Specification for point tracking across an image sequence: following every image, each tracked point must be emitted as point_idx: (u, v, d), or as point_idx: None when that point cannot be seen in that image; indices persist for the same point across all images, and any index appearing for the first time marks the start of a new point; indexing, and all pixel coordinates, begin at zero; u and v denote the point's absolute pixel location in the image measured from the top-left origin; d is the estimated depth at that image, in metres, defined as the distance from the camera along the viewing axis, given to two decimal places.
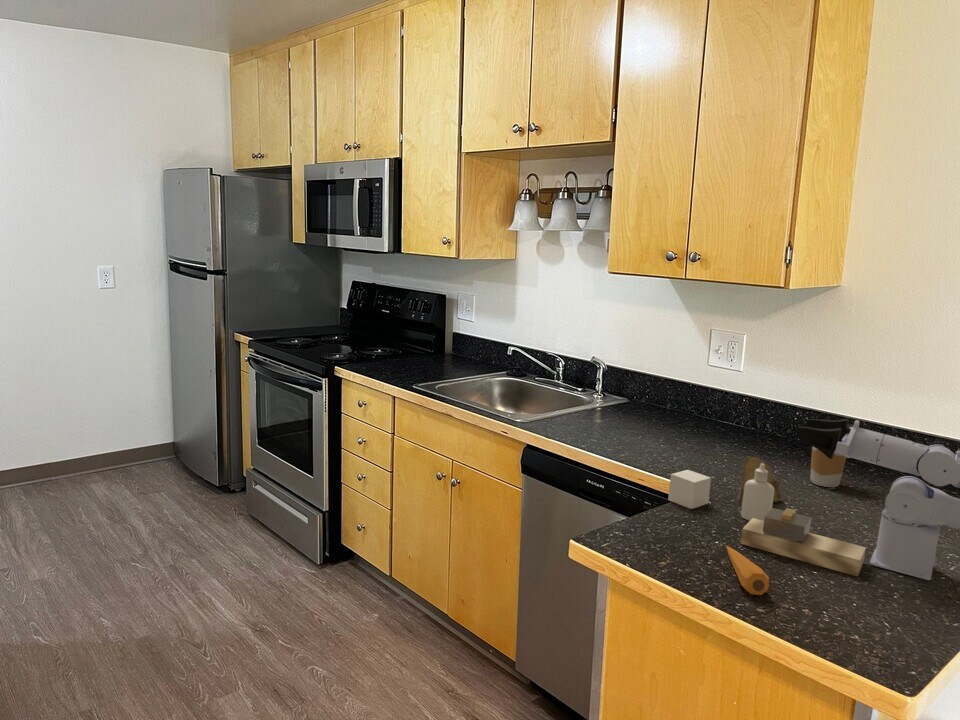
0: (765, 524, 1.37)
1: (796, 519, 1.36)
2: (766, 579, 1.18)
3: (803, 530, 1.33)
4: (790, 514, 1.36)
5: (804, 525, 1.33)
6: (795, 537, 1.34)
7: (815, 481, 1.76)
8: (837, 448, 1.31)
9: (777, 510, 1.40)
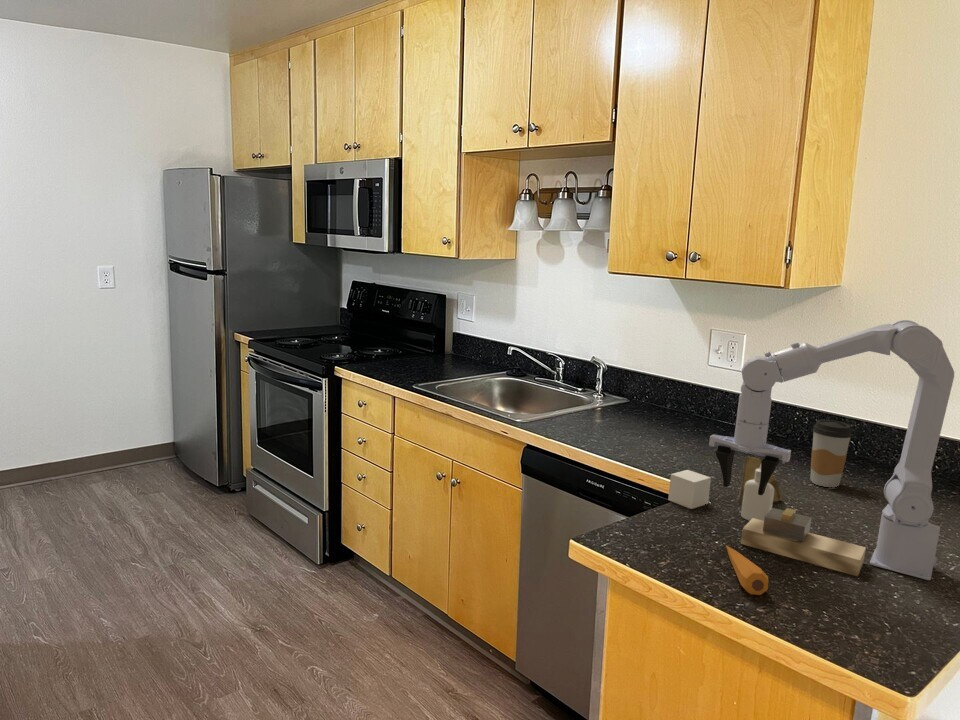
0: (765, 524, 1.37)
1: (796, 519, 1.36)
2: (765, 579, 1.18)
3: (803, 530, 1.33)
4: (790, 514, 1.36)
5: (804, 525, 1.33)
6: (795, 537, 1.34)
7: (815, 481, 1.76)
8: (788, 459, 1.36)
9: (777, 510, 1.40)
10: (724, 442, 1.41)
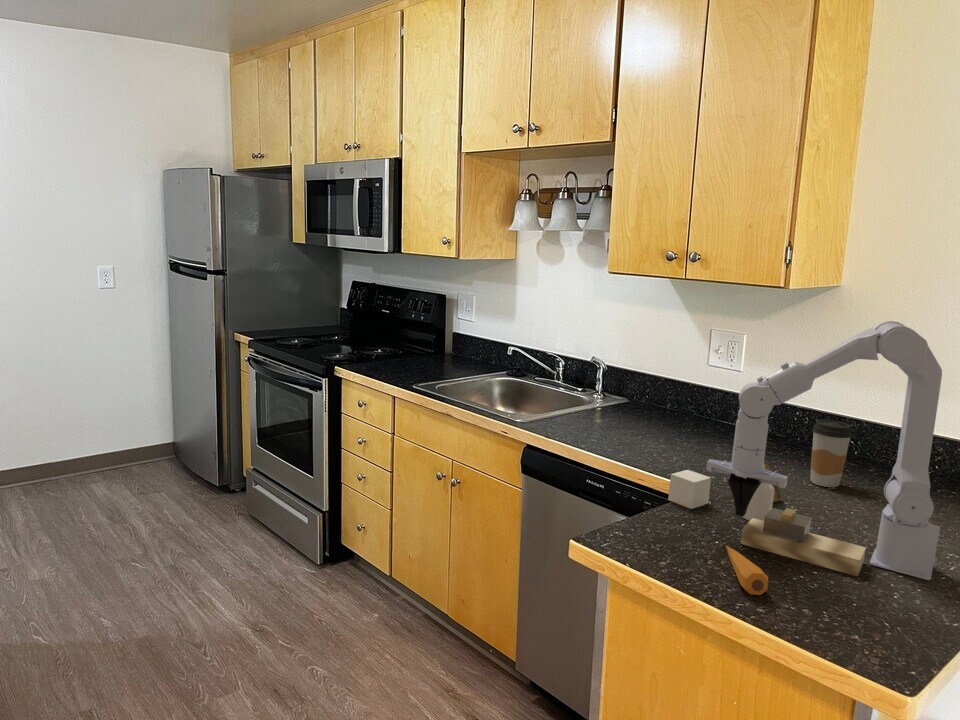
0: (765, 524, 1.37)
1: (796, 519, 1.36)
2: (765, 579, 1.18)
3: (803, 530, 1.33)
4: (790, 514, 1.36)
5: (804, 525, 1.33)
6: (795, 537, 1.34)
7: (815, 481, 1.76)
8: (785, 485, 1.37)
9: (777, 510, 1.40)
10: (721, 467, 1.41)
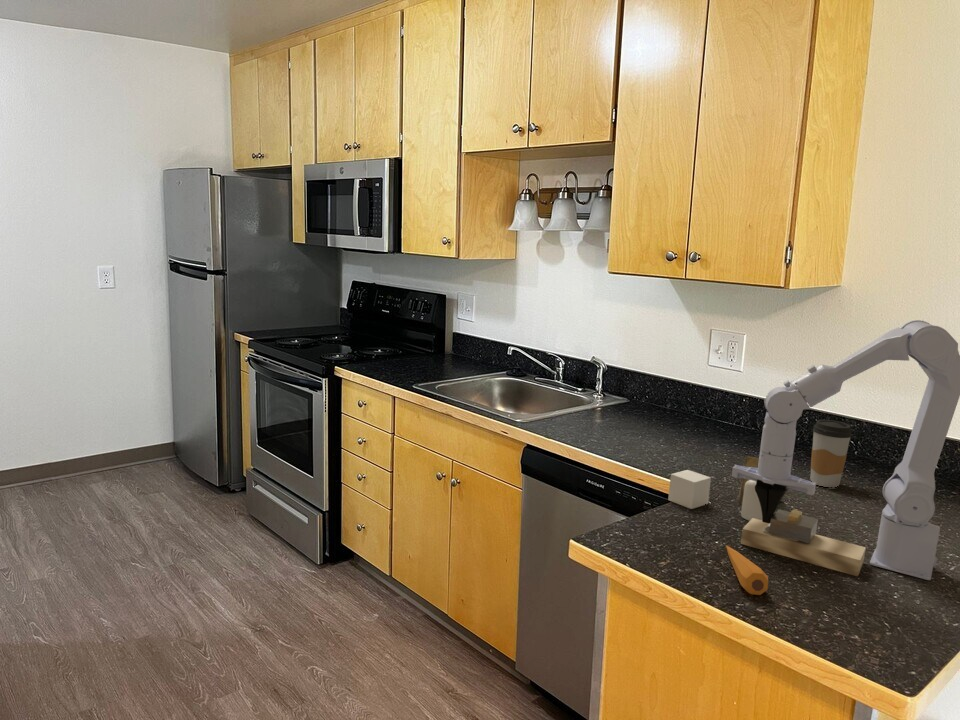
0: (771, 526, 1.36)
1: (802, 520, 1.36)
2: (765, 579, 1.18)
3: (810, 532, 1.32)
4: (796, 516, 1.35)
5: (811, 527, 1.33)
6: (802, 539, 1.33)
7: (815, 481, 1.76)
8: (813, 492, 1.34)
9: (783, 512, 1.40)
10: (747, 473, 1.39)
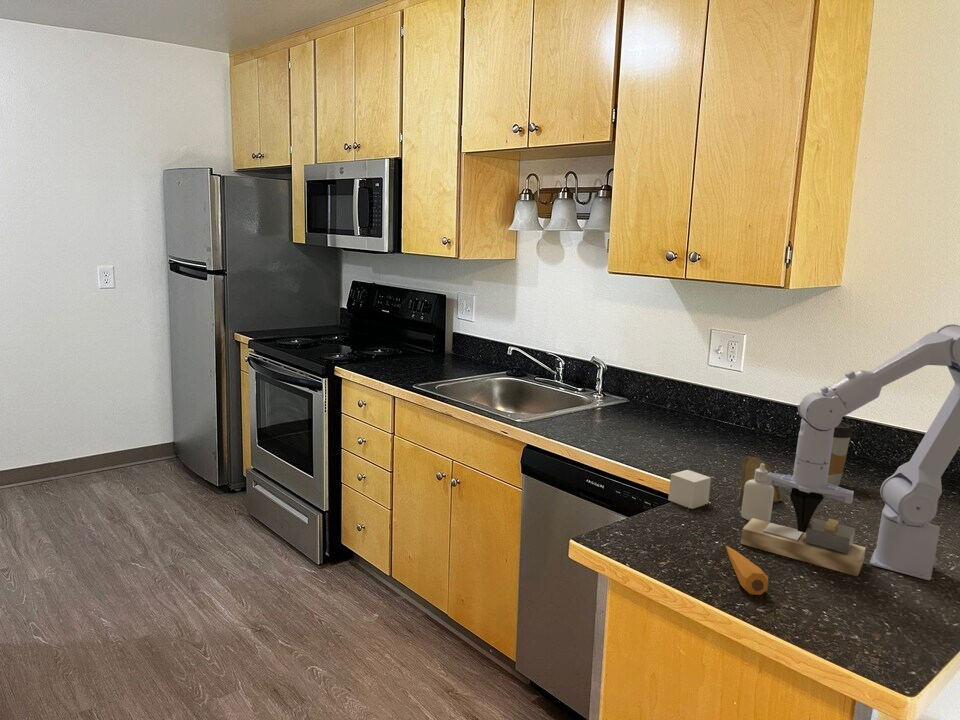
0: (808, 535, 1.33)
1: (839, 530, 1.32)
2: (765, 579, 1.19)
3: (848, 542, 1.29)
4: (834, 525, 1.32)
5: (849, 536, 1.29)
6: (839, 549, 1.30)
7: None
8: (851, 501, 1.31)
9: (819, 520, 1.36)
10: (782, 481, 1.35)
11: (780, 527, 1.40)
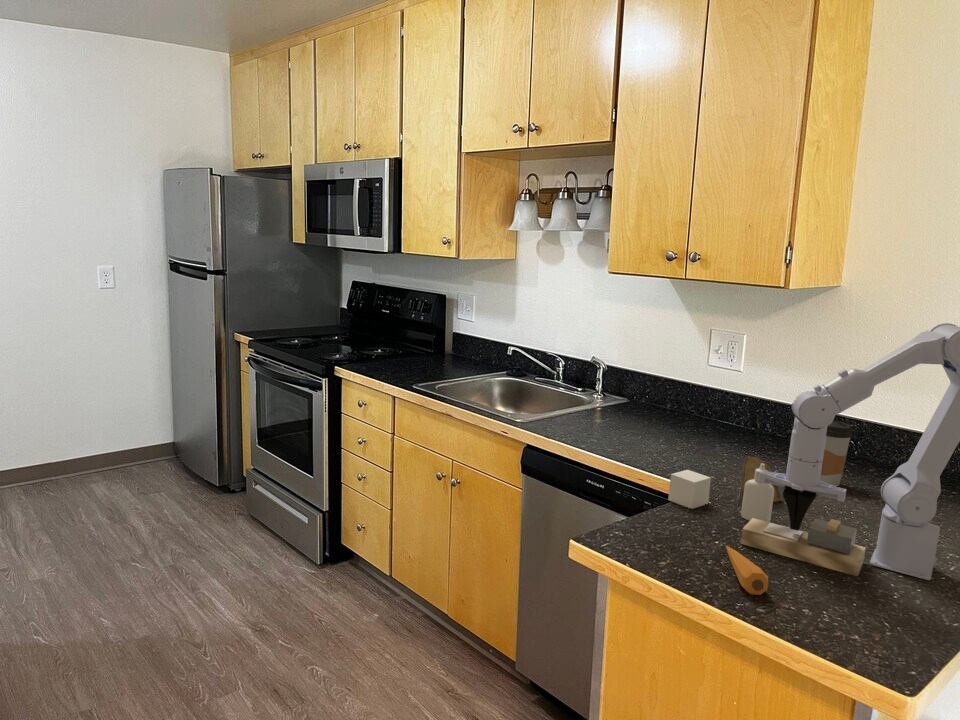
0: (809, 536, 1.32)
1: (841, 530, 1.32)
2: (765, 579, 1.19)
3: (850, 542, 1.29)
4: (835, 525, 1.31)
5: (851, 537, 1.29)
6: (841, 549, 1.30)
7: None
8: (844, 499, 1.31)
9: (820, 521, 1.36)
10: (775, 479, 1.36)
11: (780, 527, 1.40)
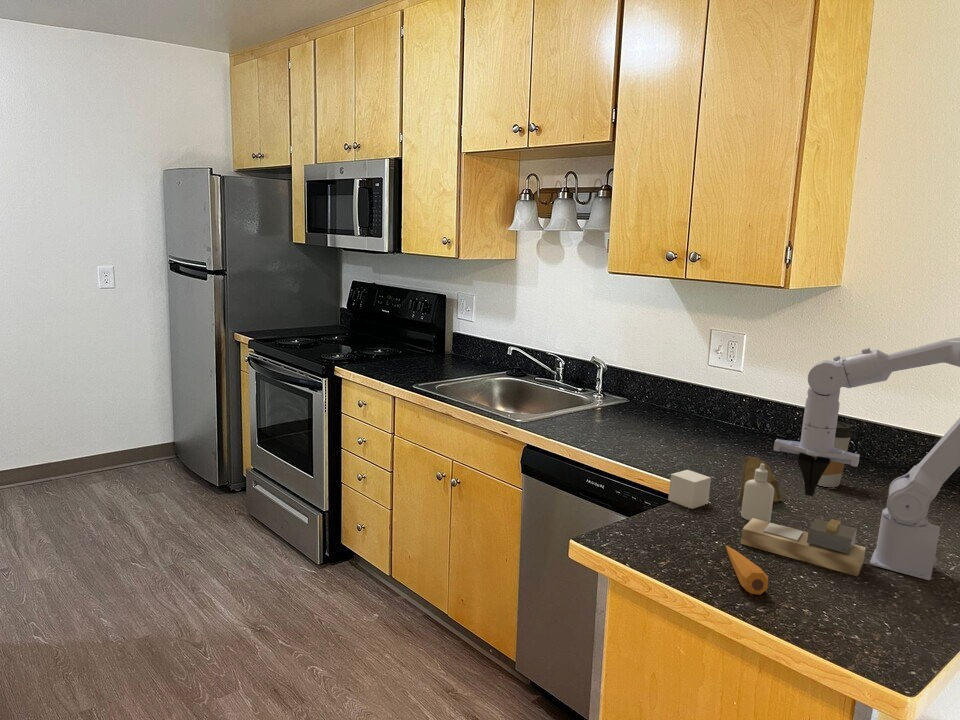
0: (809, 536, 1.32)
1: (841, 530, 1.32)
2: (765, 578, 1.19)
3: (850, 542, 1.29)
4: (835, 525, 1.31)
5: (851, 537, 1.29)
6: (841, 549, 1.30)
7: None
8: (857, 464, 1.35)
9: (820, 521, 1.36)
10: (790, 447, 1.39)
11: (780, 527, 1.40)
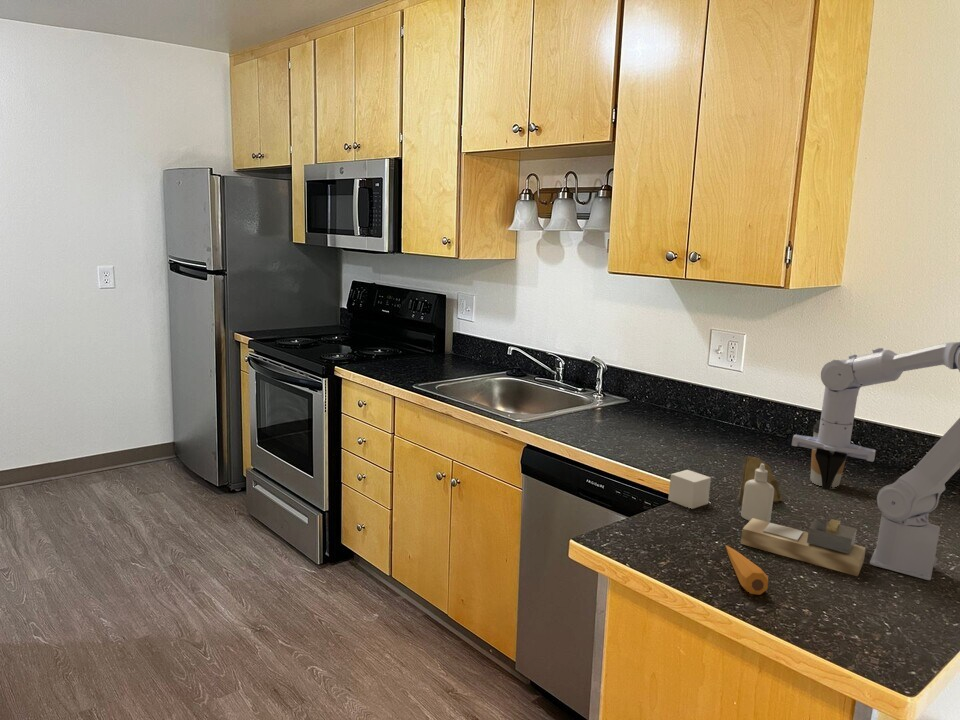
0: (809, 536, 1.32)
1: (841, 530, 1.32)
2: (765, 579, 1.19)
3: (850, 542, 1.29)
4: (835, 525, 1.31)
5: (851, 537, 1.29)
6: (841, 549, 1.30)
7: (815, 481, 1.76)
8: (873, 459, 1.40)
9: (820, 521, 1.36)
10: (808, 442, 1.44)
11: (780, 527, 1.40)
